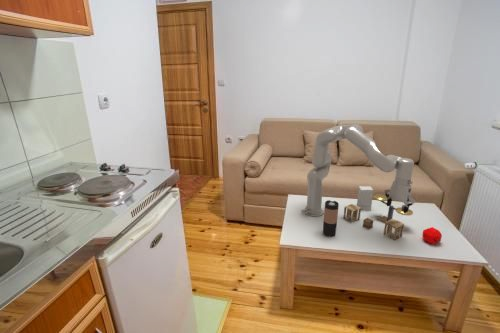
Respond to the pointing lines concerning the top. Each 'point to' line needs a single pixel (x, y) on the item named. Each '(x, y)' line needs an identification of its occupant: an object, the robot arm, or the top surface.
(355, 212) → the wooden slatted crate
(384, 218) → the balance
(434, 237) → the ball
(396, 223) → the cover right
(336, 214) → the travel mug
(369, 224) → the block
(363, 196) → the skincare box
